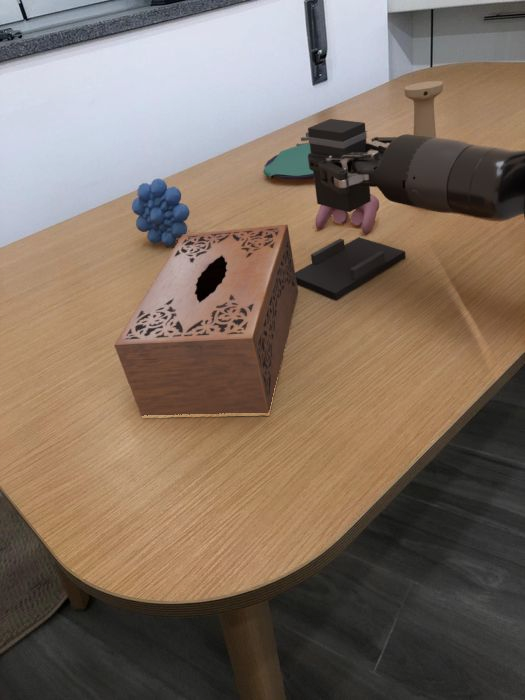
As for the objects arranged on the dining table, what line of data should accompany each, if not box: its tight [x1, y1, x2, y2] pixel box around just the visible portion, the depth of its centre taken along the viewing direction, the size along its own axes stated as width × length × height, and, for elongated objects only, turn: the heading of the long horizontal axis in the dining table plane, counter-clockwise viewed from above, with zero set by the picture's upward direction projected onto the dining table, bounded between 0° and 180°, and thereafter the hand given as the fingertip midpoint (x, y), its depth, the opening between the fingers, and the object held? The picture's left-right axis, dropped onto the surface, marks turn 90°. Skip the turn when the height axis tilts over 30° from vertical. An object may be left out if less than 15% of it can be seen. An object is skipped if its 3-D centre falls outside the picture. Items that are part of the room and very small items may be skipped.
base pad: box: [295, 236, 406, 301], centre depth 85 cm, size 14×9×3 cm, turn 129°
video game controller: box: [314, 193, 380, 235], centre depth 97 cm, size 10×5×7 cm, turn 57°
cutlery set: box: [262, 130, 368, 180], centre depth 127 cm, size 20×30×2 cm, turn 157°
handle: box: [404, 80, 444, 138], centre depth 108 cm, size 5×6×15 cm
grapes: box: [131, 178, 190, 248], centre depth 101 cm, size 12×7×12 cm, turn 63°
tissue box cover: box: [113, 224, 299, 417], centre depth 72 cm, size 26×14×10 cm, turn 170°
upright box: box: [307, 118, 371, 213], centre depth 76 cm, size 4×6×10 cm
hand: (323, 155), depth 78 cm, fingers closed on upright box, 4 cm apart
